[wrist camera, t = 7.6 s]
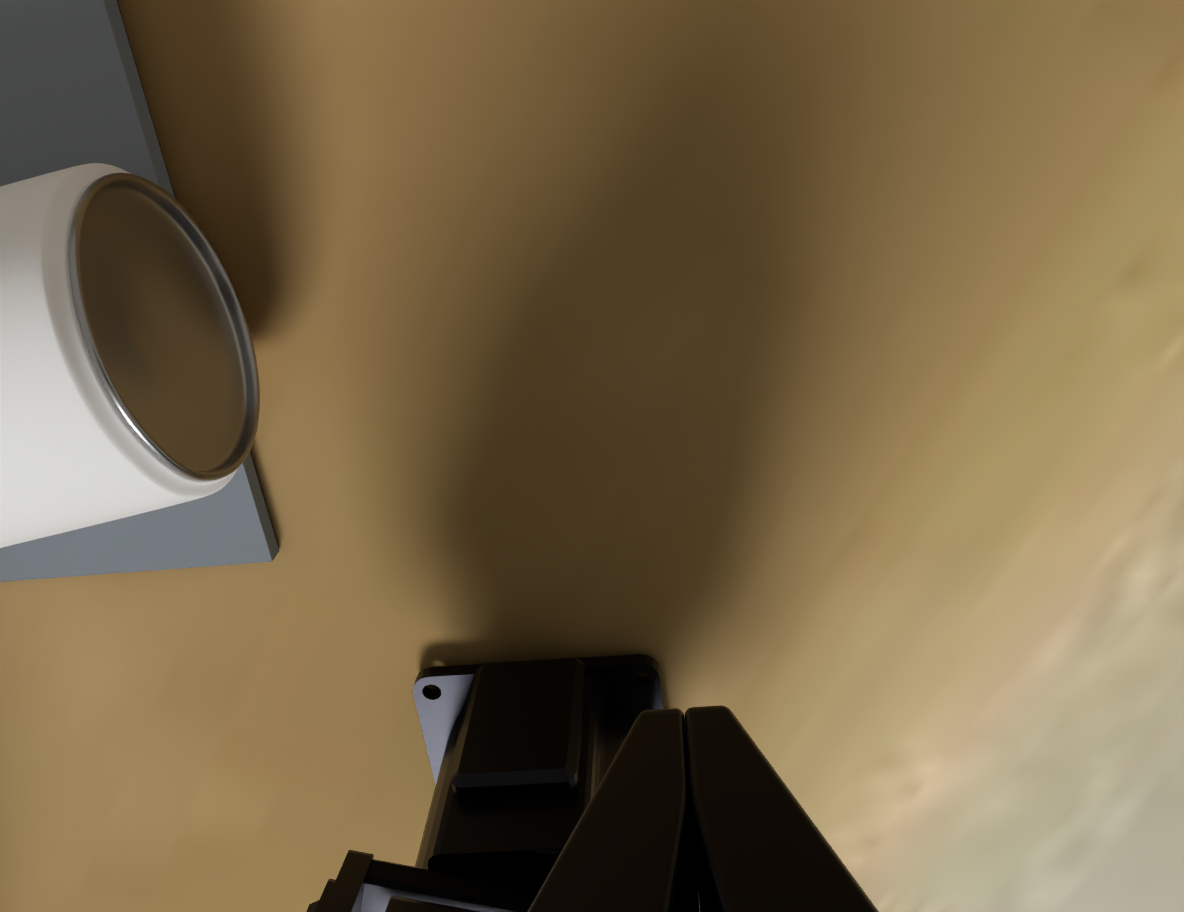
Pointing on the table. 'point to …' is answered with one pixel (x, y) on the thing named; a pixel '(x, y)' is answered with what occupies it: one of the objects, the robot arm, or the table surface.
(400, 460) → the table surface
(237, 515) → the mat
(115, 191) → the can
